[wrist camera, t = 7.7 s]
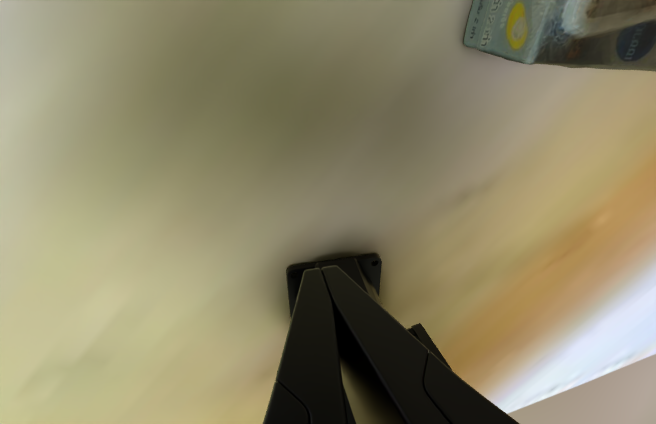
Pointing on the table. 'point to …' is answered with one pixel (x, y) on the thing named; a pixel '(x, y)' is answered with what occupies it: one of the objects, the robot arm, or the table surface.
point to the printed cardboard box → (566, 32)
